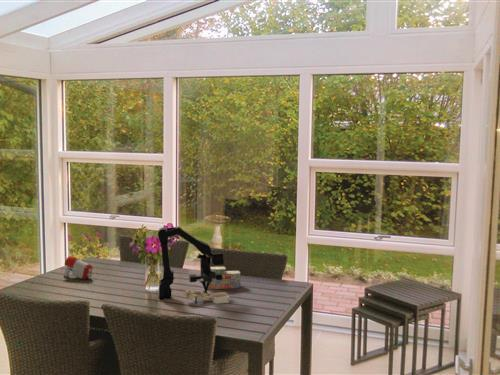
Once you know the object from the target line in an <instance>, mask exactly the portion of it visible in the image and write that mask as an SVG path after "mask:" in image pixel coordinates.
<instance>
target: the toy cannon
mask: <svg viewBox="0 0 500 375" xmlns="http://www.w3.org/2000/svg"><path fill="white" fill-rule="evenodd" d="M64 265H65V266H66V267H65V270H64V272H63V276H64V277H69V276H70V273H71V274H72V276H74V277H75V278H79V279H81V280H82V281H83V280H86V279H89V278H93V275H94V274H93V270H94V269H93V265H91V264H90V263H86V262H84V261H82V260H80V259H78V258H77V257H75V256H71V255H70V256H68V257H67V258H66V259H65V262H64Z"/></svg>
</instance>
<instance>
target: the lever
mask: <svg viewBox="0 0 500 375" xmlns="http://www.w3.org/2000/svg"><path fill="white" fill-rule="evenodd" d="M184 292H185V293H184V295H185V298H187V299H197V296H202V301H209V302H211V301H212V297H211V293H208V291H207V292H205V290H201V292H200V291H191V290H188V288H186V289H185V291H184Z"/></svg>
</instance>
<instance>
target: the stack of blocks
mask: <svg viewBox="0 0 500 375" xmlns="http://www.w3.org/2000/svg"><path fill="white" fill-rule="evenodd" d="M210 268H211V272H215V273H221V274H222V278H223V279H222V280H217V279H216V278H213V279H212V282H210V284H209V286H208V289H207V290H221V289H222V290H223V289H241V271H240V270H227V268H226V266H224V265H222V266H210ZM205 285H206V282H205Z"/></svg>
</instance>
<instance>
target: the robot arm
mask: <svg viewBox="0 0 500 375" xmlns="http://www.w3.org/2000/svg"><path fill="white" fill-rule="evenodd" d="M175 236H179V237H181V238H182V239H184V241H187V242H188V243H189V244H191V245H192V246H194V247H195V248H196V249H197V250H198V252H199V253H198V254H197V255H196V259H199V260H200V261H199V264H200V266H199V268H200V274H199V275H196V274H189V275H188V281H189V282H190V283H196V282H197V281H198V282H199V283H200V284H201V285H202V287H203V291H205V292H207V293H208V290H209V289H208V286H209V284H210V282H212V279H213V278H216V279H217V280H222V279H223V278H222V274H221V273H215V272H211V268H210V267H211V264H212V265H213V266H224V263H225V262H224V261H225V260H224V253H223V252H217V253H216V252H215V253H214V252H213V250H212V249H211V246H210V244H209V243H207V242H205V241H203V240H200V239H198V238H197V237H195V236H194V235H192V234H190V233H189V232H188V231H186V230H184V229H183V228H182V227H181V226H175V227H160V228H159V229H158V232H157V238H158V240H159V243H160V248H161V255H162V263H163V272H162V274H163V276H162V278H161V279H160V280H159V286H158V295H157V296H158V299H159V300H166V299H172V288H171V285H172V284H173V283H174V280H175V274H174V273H175V271H174V269H171V264H170V263H171V262H170V255H169V254H170V253H169V245H168V243H169V242H168V241H169V238H171V237H175ZM205 282H206V285H205Z"/></svg>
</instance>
